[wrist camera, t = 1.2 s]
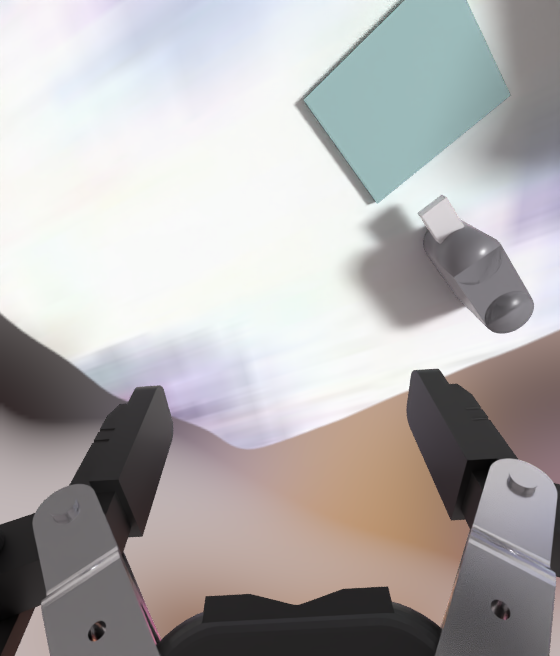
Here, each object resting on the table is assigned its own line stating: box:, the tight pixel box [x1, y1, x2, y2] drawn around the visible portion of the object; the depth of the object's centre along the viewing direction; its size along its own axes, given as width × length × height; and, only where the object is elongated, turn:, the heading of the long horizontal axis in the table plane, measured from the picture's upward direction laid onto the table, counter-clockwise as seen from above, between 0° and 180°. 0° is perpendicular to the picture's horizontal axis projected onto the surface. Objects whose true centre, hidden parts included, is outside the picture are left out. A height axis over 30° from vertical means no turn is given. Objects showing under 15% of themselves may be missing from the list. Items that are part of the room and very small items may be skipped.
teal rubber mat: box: [304, 0, 511, 203], centre depth 28 cm, size 12×10×1 cm
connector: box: [418, 195, 534, 333], centre depth 32 cm, size 4×13×6 cm, turn 41°
